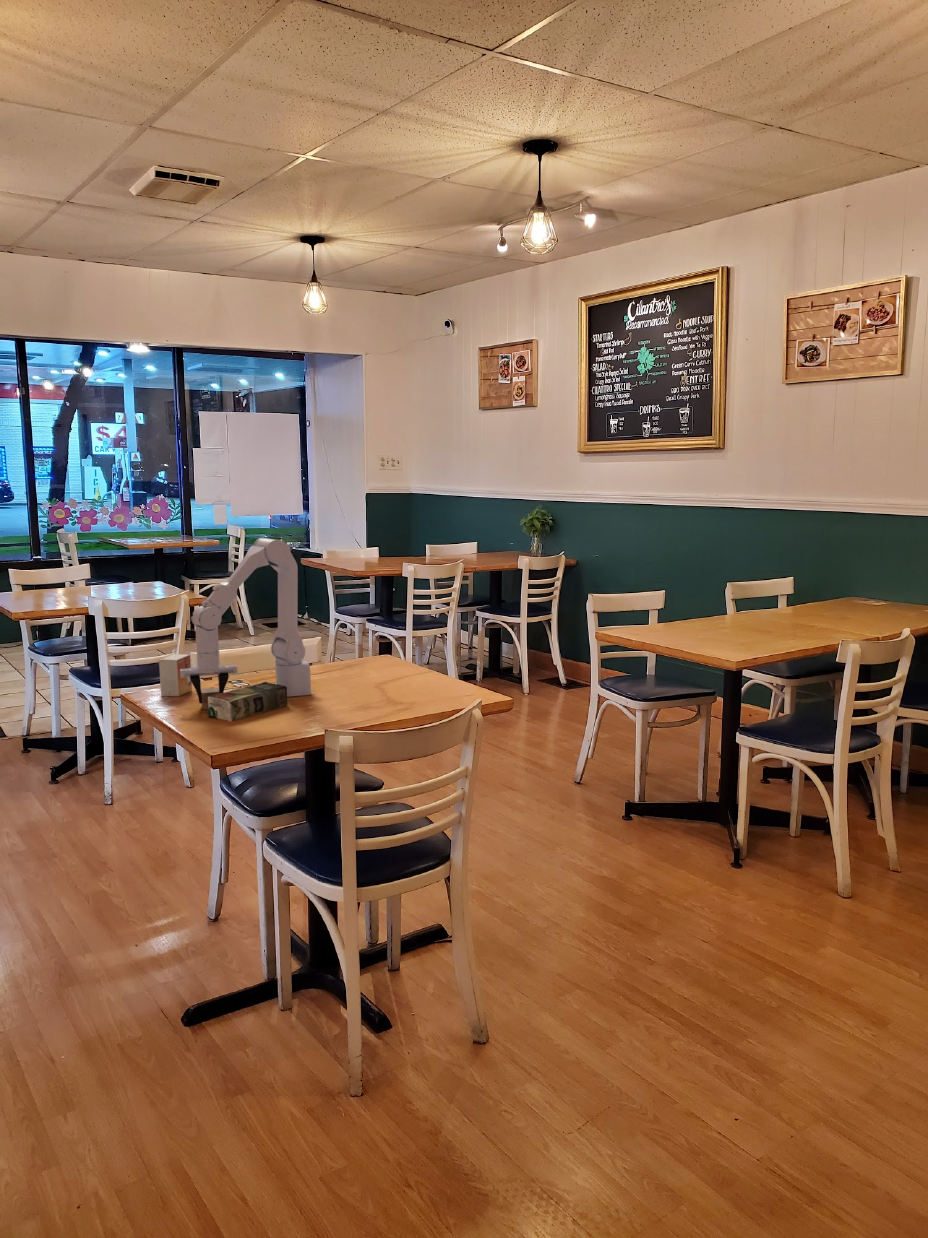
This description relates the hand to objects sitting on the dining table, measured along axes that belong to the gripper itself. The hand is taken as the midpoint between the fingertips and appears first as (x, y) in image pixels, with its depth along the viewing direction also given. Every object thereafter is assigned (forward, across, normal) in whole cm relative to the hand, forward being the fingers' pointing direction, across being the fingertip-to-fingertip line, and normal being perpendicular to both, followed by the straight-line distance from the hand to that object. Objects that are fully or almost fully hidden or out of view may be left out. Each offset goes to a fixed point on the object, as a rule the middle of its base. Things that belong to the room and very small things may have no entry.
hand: (210, 701), depth 249 cm
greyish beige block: (+1, 0, 0) cm, 1 cm away
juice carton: (+2, +9, -8) cm, 12 cm away
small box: (+2, -8, +19) cm, 21 cm away
